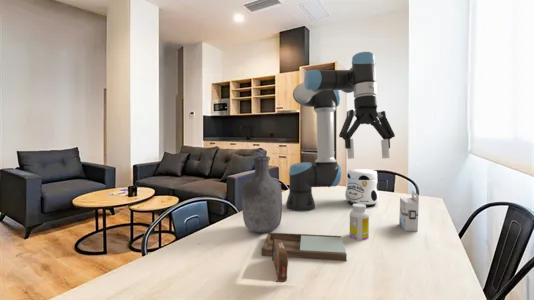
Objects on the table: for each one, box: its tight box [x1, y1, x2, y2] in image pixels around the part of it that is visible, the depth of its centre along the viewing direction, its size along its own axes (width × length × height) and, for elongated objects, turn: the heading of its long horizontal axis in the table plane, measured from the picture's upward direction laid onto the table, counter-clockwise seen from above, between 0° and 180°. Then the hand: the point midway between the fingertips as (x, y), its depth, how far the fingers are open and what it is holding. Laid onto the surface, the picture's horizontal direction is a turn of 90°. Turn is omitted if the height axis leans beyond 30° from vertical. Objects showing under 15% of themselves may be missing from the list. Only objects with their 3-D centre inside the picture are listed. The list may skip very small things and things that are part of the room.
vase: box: [241, 155, 283, 234], centre depth 110 cm, size 16×16×30 cm
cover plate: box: [300, 235, 347, 254], centre depth 90 cm, size 12×14×2 cm
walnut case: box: [260, 232, 348, 262], centre depth 91 cm, size 15×26×3 cm, turn 81°
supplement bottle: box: [349, 204, 370, 241], centre depth 101 cm, size 7×7×13 cm
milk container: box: [344, 168, 380, 207], centre depth 149 cm, size 17×17×18 cm
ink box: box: [398, 190, 420, 232], centre depth 112 cm, size 9×5×15 cm, turn 168°
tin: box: [271, 239, 289, 283], centre depth 77 cm, size 15×3×8 cm, turn 5°
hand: (368, 158), depth 93 cm, fingers open, 13 cm apart
